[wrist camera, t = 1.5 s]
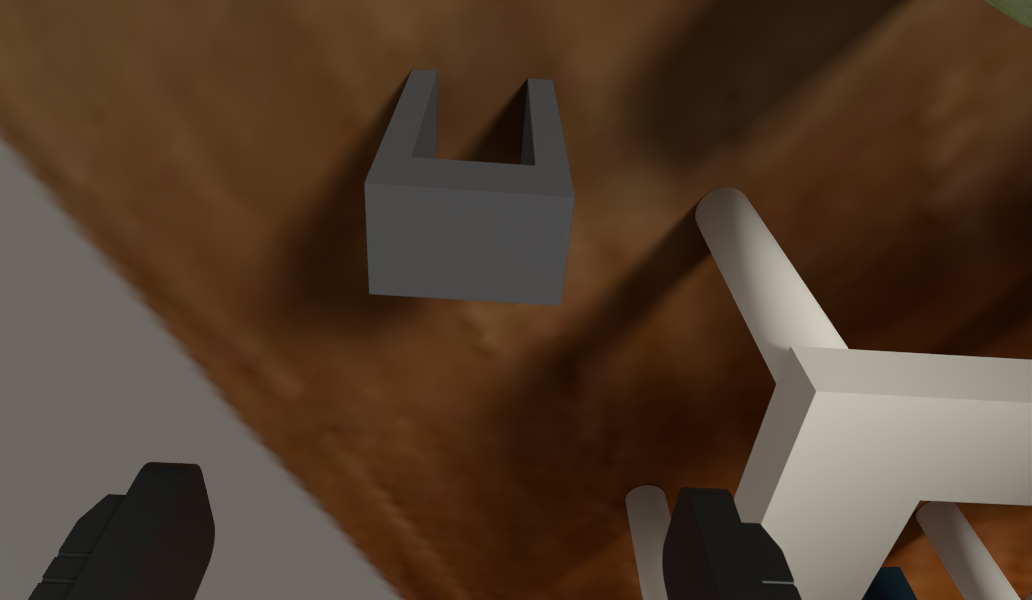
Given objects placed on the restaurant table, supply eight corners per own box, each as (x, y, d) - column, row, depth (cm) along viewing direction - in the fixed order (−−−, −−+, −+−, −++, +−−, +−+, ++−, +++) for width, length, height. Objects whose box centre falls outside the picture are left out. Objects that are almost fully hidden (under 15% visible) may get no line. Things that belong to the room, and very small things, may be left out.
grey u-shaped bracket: (552, 80, 28) (574, 197, 19) (544, 162, 30) (560, 305, 21) (412, 69, 28) (364, 182, 18) (412, 153, 29) (369, 294, 20)
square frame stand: (1155, 210, 31) (1638, 485, 18) (949, 529, 43) (1146, 835, 30) (696, 178, 30) (846, 445, 17) (616, 514, 42) (667, 825, 29)
